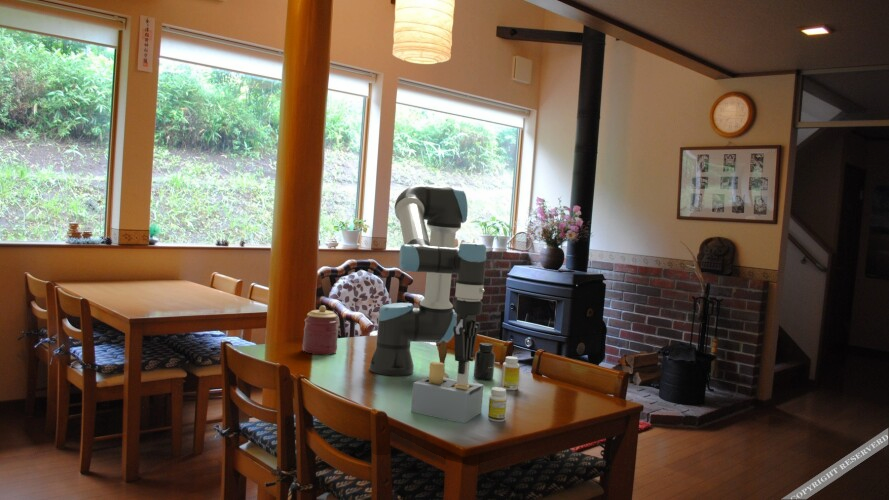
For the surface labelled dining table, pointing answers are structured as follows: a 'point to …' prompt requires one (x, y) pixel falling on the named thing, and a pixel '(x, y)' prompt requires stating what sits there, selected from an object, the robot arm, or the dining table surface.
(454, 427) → the dining table surface
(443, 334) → the robot arm
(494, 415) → the supplement bottle
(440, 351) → the hand bell
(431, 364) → the peg
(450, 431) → the dining table surface
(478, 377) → the supplement bottle
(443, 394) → the socket block
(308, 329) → the canister
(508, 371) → the supplement bottle
